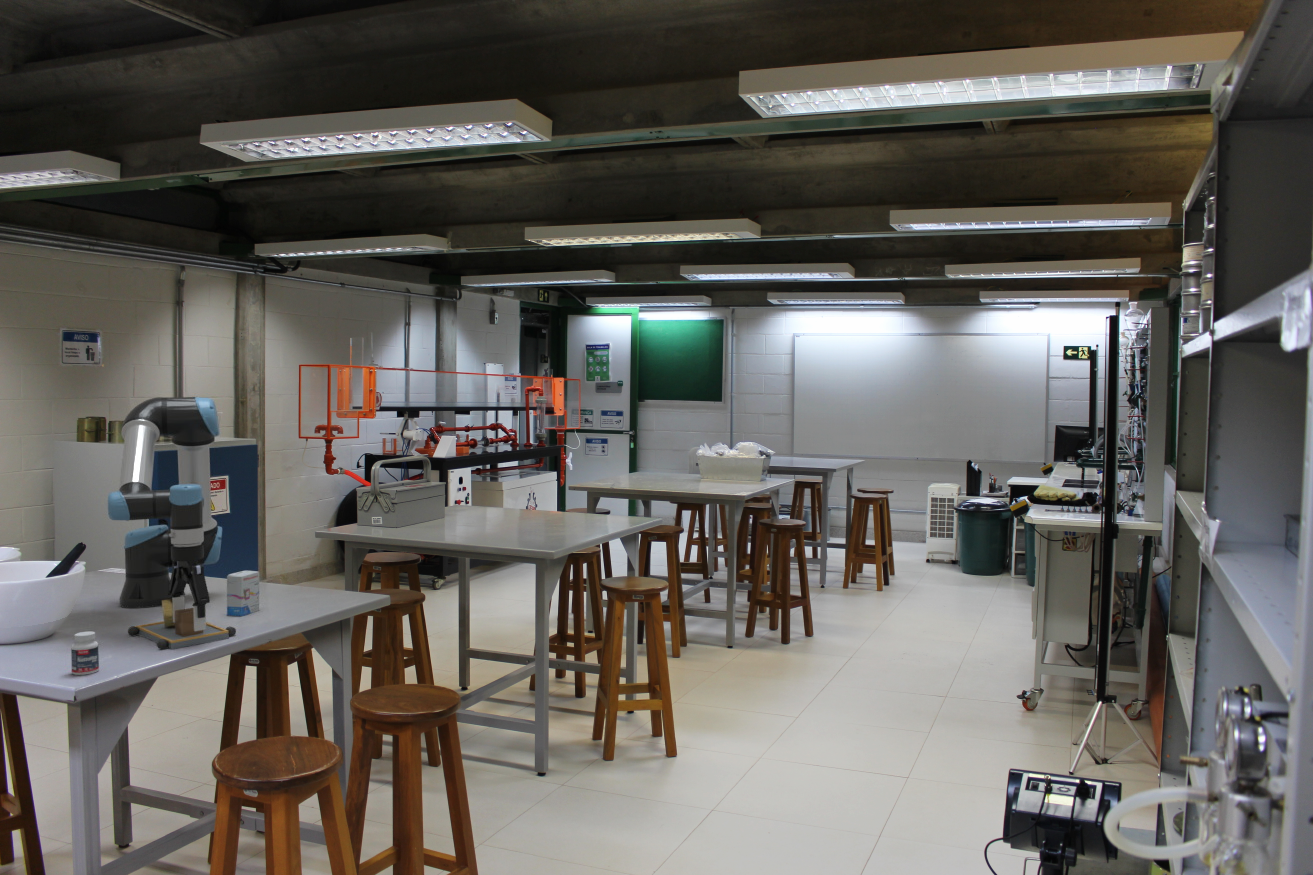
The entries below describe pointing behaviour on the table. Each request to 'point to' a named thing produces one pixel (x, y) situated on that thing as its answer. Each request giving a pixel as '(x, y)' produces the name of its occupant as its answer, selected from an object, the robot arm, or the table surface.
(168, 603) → the cylinder
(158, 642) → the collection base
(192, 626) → the walnut block
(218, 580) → the table surface
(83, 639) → the pill bottle
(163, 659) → the table surface
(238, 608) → the ink box
